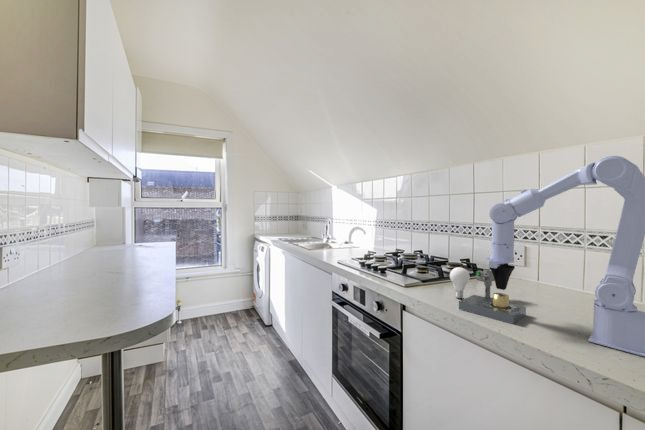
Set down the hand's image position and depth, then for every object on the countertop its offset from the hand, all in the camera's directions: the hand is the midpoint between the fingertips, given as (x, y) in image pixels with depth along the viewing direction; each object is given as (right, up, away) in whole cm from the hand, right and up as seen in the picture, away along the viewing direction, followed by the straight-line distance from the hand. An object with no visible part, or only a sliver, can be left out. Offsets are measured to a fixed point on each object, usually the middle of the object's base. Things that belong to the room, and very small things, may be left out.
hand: (501, 288), depth 86 cm
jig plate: (-2, -8, +2) cm, 8 cm away
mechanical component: (+5, -8, +16) cm, 19 cm away
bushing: (0, -8, 0) cm, 8 cm away
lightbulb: (-5, -8, +15) cm, 18 cm away
